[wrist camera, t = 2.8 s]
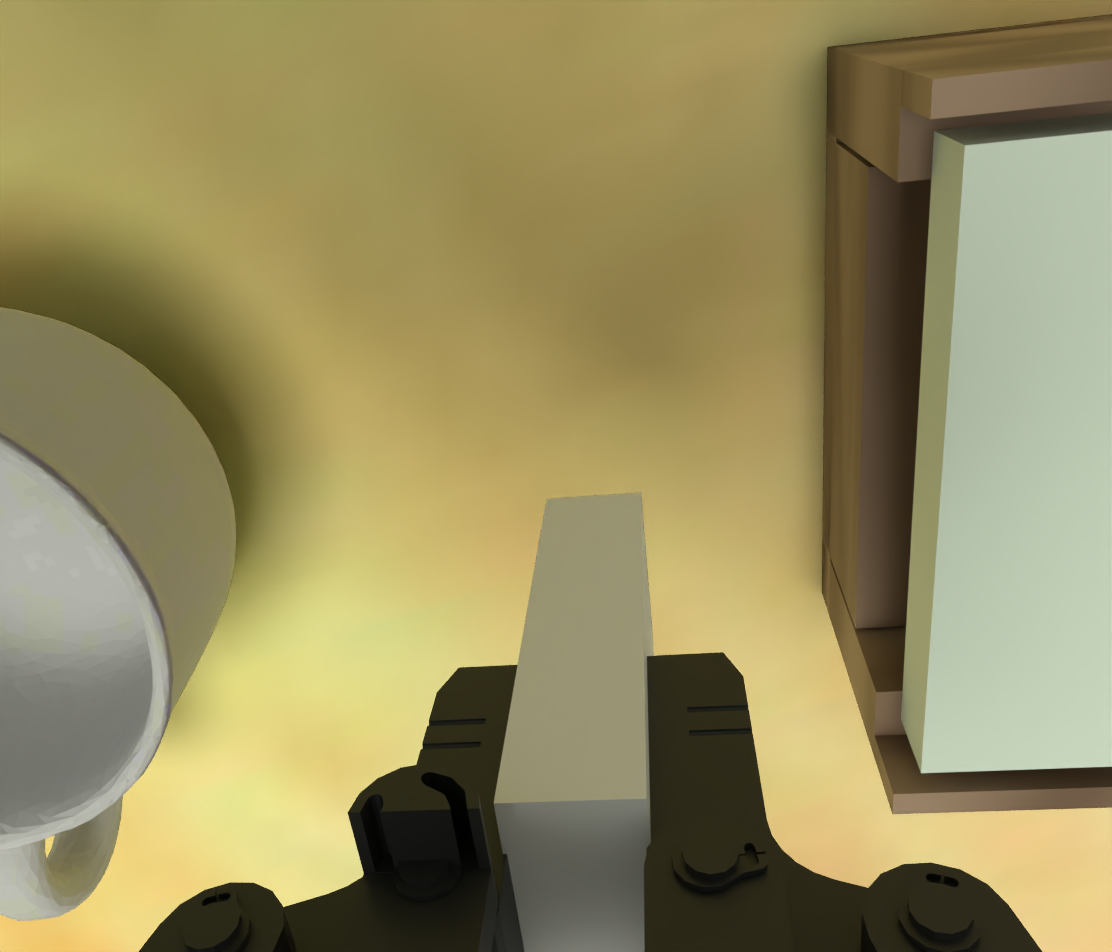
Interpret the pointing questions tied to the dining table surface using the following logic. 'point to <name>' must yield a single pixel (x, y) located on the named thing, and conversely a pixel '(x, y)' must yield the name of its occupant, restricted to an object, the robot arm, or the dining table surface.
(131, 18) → the dining table surface
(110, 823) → the teacup
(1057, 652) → the lid
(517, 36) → the dining table surface
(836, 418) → the box
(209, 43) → the dining table surface
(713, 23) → the dining table surface
